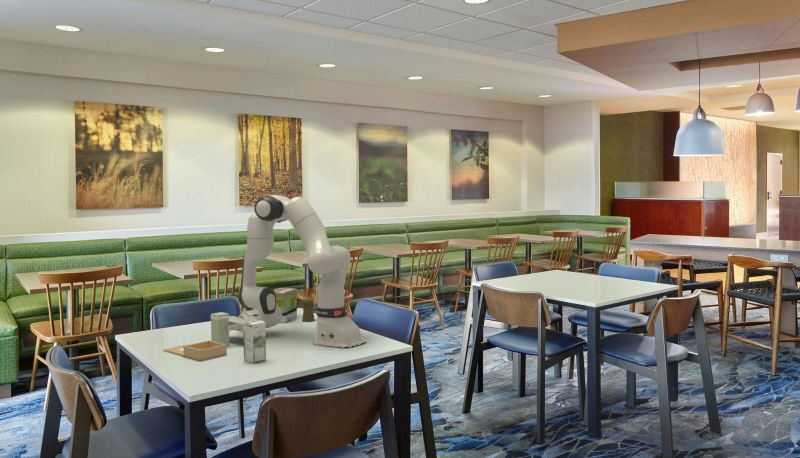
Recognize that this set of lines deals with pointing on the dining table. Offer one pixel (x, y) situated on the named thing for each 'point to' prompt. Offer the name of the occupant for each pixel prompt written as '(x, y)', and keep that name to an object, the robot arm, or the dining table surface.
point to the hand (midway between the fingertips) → (219, 327)
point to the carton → (220, 328)
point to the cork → (308, 310)
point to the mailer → (200, 350)
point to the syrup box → (254, 341)
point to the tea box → (287, 303)
